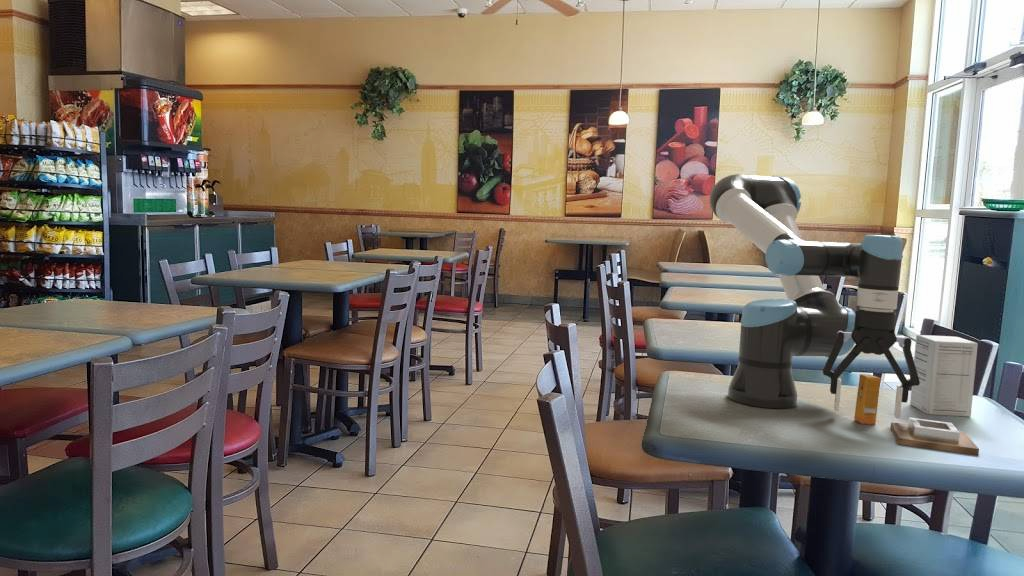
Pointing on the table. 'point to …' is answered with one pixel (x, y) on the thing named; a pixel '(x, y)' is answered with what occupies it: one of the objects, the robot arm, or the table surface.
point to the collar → (933, 430)
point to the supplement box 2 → (944, 375)
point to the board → (933, 441)
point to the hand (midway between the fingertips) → (866, 413)
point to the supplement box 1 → (867, 399)
